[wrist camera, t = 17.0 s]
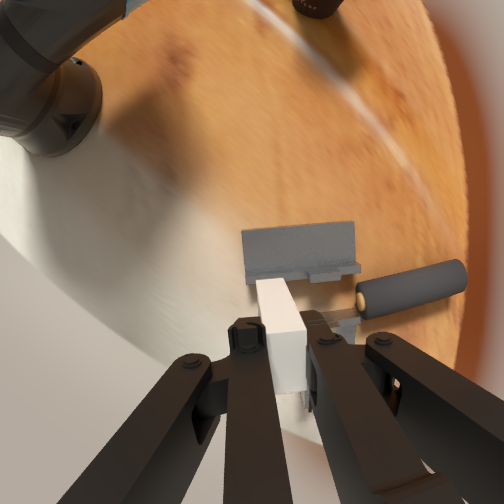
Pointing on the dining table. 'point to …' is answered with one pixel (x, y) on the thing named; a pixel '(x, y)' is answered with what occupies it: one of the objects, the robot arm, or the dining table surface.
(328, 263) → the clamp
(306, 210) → the dining table surface
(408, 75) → the dining table surface
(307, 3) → the coffee mug
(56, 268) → the dining table surface
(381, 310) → the dark grey cylinder
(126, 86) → the dining table surface
